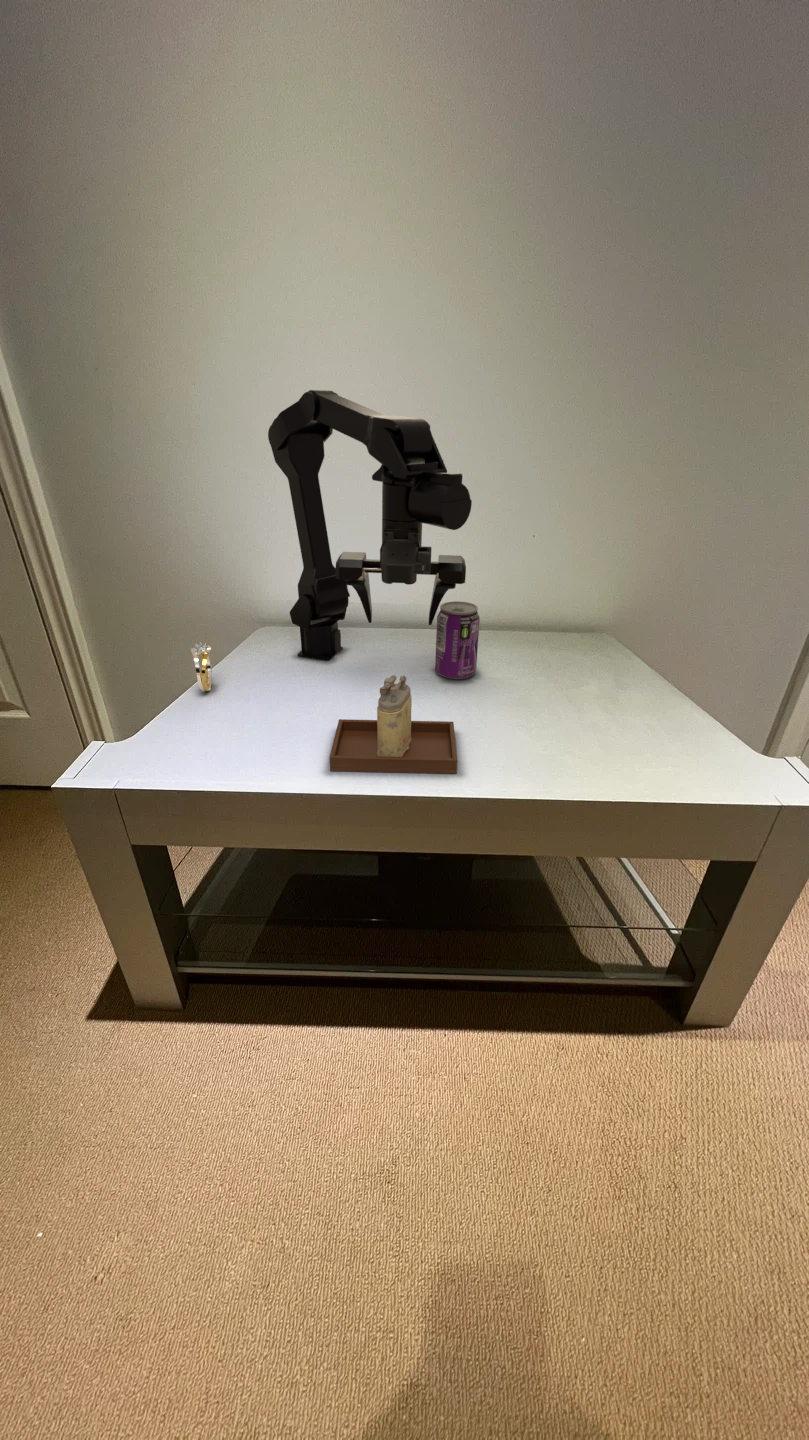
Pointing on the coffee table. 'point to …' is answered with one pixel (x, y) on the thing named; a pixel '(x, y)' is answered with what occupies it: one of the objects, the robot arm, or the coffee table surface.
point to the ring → (203, 665)
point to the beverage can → (457, 640)
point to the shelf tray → (425, 755)
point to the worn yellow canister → (394, 718)
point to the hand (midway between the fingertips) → (400, 623)
